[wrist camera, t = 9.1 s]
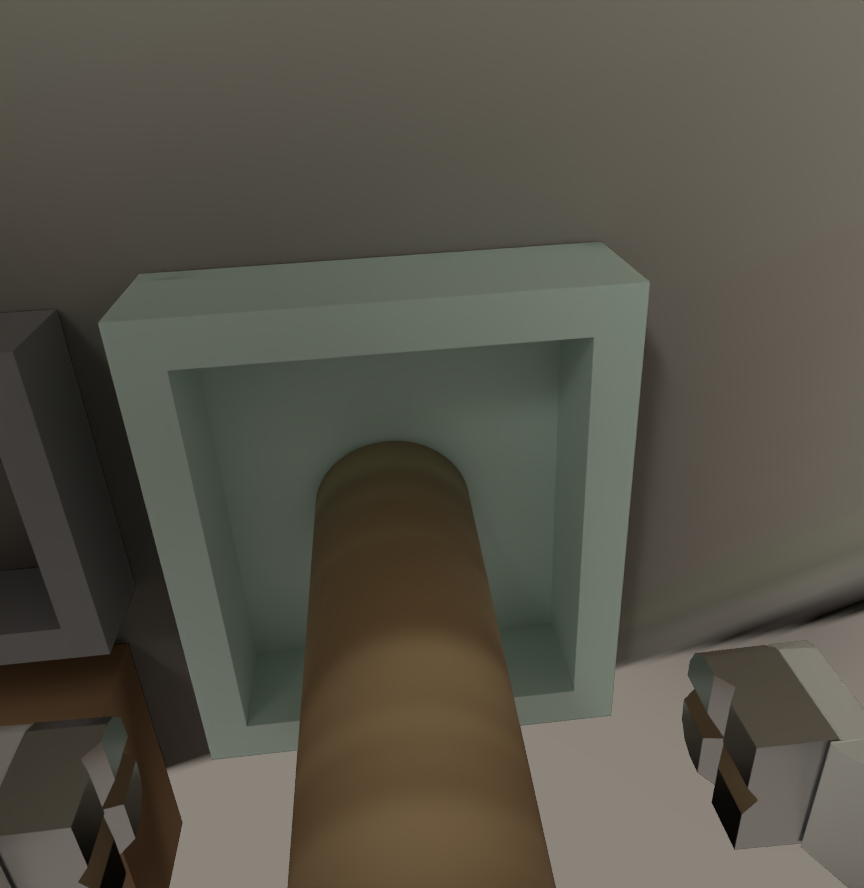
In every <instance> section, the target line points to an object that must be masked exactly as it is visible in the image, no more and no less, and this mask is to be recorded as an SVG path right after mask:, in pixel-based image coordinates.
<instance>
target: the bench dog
mask: <svg viewBox="0 0 864 888" xmlns="http://www.w3.org/2000/svg"><path fill="white" fill-rule="evenodd" d="M109 716H115V717H119V718H121V720H122V722H123V725H124V728H125V730H126V733H127V735H128V737H127V741H126V744H125V747H124V751H123V752H124V753H125V754H127V755H128V756H130V757H131V758H133V759H134V760H136V763H137V766H138V769H139V772H140V777H141V785H142V803H141V817H140V821H139V825H138V829H137V834H136V838H135V839H134V840H133V841H132V842H131V844H130V845H129V846H128V847H127V848H126V849H125V850H124V851H123V852H122V853H121V854H120V856H121V859H122V862H123V865H124V867H125V870H126V876H125V880H124V884H123V888H169V885H170V880H171V876H172V870H173V866H174V861H175V856H176V851H177V846H178V842H179V837H180V832H181V827H182V820H181V816H180V813H179V810H178V807H177V804H176V800H175V797H174V793H173V790H172V787H171V783H170V780H169V777H168V774H167V770H166V767H165V764H164V761H163V757H162V754H161V751H160V747H159V744H158V741H157V738H156V734H155V731H154V728H153V724H152V721H151V718H150V715H149V711H148V708H147V705H146V701H145V698H144V695H143V692H142V688H141V685H140V682H139V678H138V675H137V672H136V669H135V665H134V662H133V659H132V656H131V652H130V649H129V646H128V643H126V644H116V645H113V648H112V650H111V653H110V654H106V655H96V656H87V657H77V658H67V659H57V660H47V661H37V662H27V663H17V664H8V665H0V726H9V725H21V724H34V723H36V722H48V721H61V720H73V719H85V718H97V717H109Z"/></svg>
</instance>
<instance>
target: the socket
mask: <svg viewBox="0 0 864 888" xmlns="http://www.w3.org/2000/svg"><path fill="white" fill-rule="evenodd" d="M0 458H1V461H2V464H3V467H4V469H5V472H6V475H7V478H8V481H9V484H10V486H11V489H12V492H13V495H14V498H15V500H16V503H17V506H18V509H19V512H20V515H21V517H22V520H23V523H24V526H25V529H26V532H27V534H28V537H29V540H30V543H31V546H32V548H33V551H34V554H35V557H36V560H37V563H38V565H39V567H37V568H27V569H16V570H5V571H0V665H8V664H17V663H27V662H37V661H47V660H57V659H67V658H77V657H87V656H96V655H106V654H110V653H111V650H112V648H113V645H114V642H115V640H116V637H117V634H118V632H119V629H120V626H121V624H122V621H123V618H124V616H125V613H126V610H127V608H128V605H129V602H130V600H131V597H132V595H133V592H134V589H135V587H136V586H135V582H134V579H133V575H132V572H131V568H130V565H129V561H128V558H127V554H126V551H125V547H124V544H123V540H122V537H121V533H120V530H119V526H118V523H117V519H116V516H115V512H114V509H113V505H112V502H111V498H110V495H109V491H108V488H107V484H106V481H105V477H104V474H103V470H102V467H101V463H100V460H99V456H98V453H97V449H96V446H95V442H94V439H93V435H92V432H91V428H90V425H89V421H88V418H87V414H86V411H85V407H84V404H83V400H82V397H81V393H80V390H79V386H78V383H77V379H76V376H75V372H74V369H73V365H72V362H71V358H70V355H69V351H68V348H67V344H66V341H65V337H64V333H63V330H62V326H61V323H60V319H59V316H58V312H57V309H49V310H35V311H22V312H8V313H0Z"/></svg>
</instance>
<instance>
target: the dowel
mask: <svg viewBox="0 0 864 888" xmlns="http://www.w3.org/2000/svg"><path fill="white" fill-rule="evenodd" d="M288 888H556V886H555V882H554V878H553V873H552V869H551V864H550V859H549V855H548V850H547V846H546V842H545V837H544V833H543V828H542V823H541V819H540V814H539V809H538V805H537V801H536V796H535V791H534V787H533V782H532V778H531V773H530V769H529V764H528V760H527V755H526V751H525V746H524V741H523V737H522V732H521V728H520V723H519V719H518V714H517V710H516V705H515V701H514V696H513V692H512V687H511V683H510V678H509V674H508V669H507V664H506V660H505V655H504V651H503V646H502V642H501V637H500V633H499V628H498V624H497V619H496V615H495V610H494V606H493V601H492V597H491V592H490V587H489V583H488V578H487V574H486V569H485V565H484V560H483V556H482V551H481V547H480V542H479V538H478V533H477V529H476V524H475V520H474V515H473V510H472V506H471V501H470V497H469V492H468V489H467V485H466V482H465V480H464V478H463V476H462V474H461V473H460V471H459V470H458V468H457V467H456V466H455V465H454V464H453V463H452V462H451V461H450V460H449V459H448V458H446V457H445V456H444V455H442V454H441V453H439V452H438V451H436V450H433V449H431V448H429V447H427V446H424V445H421V444H417V443H412V442H406V441H385V442H377V443H373V444H369V445H366V446H363V447H361V448H358V449H356V450H354V451H352V452H350V453H348V454H347V455H345V456H344V457H342V458H341V459H340V460H338V461H337V462H336V463H335V464H334V465H333V466H332V467H331V468H330V469H329V471H328V472H327V473H326V475H325V476H324V478H323V480H322V481H321V484H320V486H319V488H318V492H317V496H316V505H315V519H314V532H313V546H312V560H311V574H310V587H309V601H308V615H307V628H306V642H305V656H304V670H303V683H302V697H301V711H300V725H299V738H298V752H297V766H296V779H295V794H294V807H293V821H292V835H291V848H290V862H289V875H288Z"/></svg>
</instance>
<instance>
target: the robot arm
mask: <svg viewBox="0 0 864 888" xmlns="http://www.w3.org/2000/svg"><path fill="white" fill-rule="evenodd" d="M688 677H689V678H690V680H691V682H692V684H693V686H694V688H695V689H694V690H693V691H692V692H691V693H690V694H689V695H688V697H686V698H685V699H684V705H683V715H682V722H683V730H684V738H685V742H686V745H687V748H688V751H689V755H690V757H691V759H692V762H693V764H694V766H695V768H696V770H697V772H698V773H699V774H700V775H702V776H703V777H705V778H706V779H707V780H709V781H710V782H711V783H713V784H714V785H715V788H714V792H713V798H712V804H713V806H714V808H715V810H716V812H717V814H718V817H719V819H720V821H721V823H722V825H723V827H724V829H725V831H726V833H727V835H728V837H729V839H730V841H731V843H732V845H733V847H734V849H747V848H757V847H768V846H778V845H789V844H799V843H802V845H801V847H802V848H803V849H804V850H805V851H806V852H807V853H808V854H810V855H811V856H812V857H813V858H814V859H816V860H817V861H818V862H819V863H820V864H821V865H823V866H824V867H825V868H826V869H827V870H828V871H829V872H831V873H832V874H833V875H834V876H835V877H836V878H838V879H839V880H840V881H841V882H842V883H843V884H845V885H846V886H847V887H848V888H864V709H863V707H862V706H861V705H860V704H859V702H858V701H857V700H856V698H855V697H854V696H853V695H852V693H851V692H850V691H849V689H848V688H847V687H846V686H845V684H844V683H843V682H842V680H841V679H840V678H839V677H838V675H837V674H836V673H835V671H834V670H833V669H832V667H831V666H830V665H829V664H828V662H827V661H826V660H825V658H824V657H823V656H822V655H821V653H820V652H819V651H818V649H817V648H816V647H815V646H814V645H813V644H811V643H809V642H808V641H806V640H804V641H796V642H787V643H778V644H770V645H768V646H765V645H761V646H752V647H744V648H736V649H727V650H718V651H710V652H701V653H695V654H694V656H693V657H692V659H691V661H690V665H689V671H688ZM127 737H128V735H127V733H126V730H125V728H124V725H123V722H122V720H121V718H119V717H115V716H109V717H97V718H85V719H73V720H61V721H48V722H36V723H34V724H21V725H9V726H0V888H123V884H124V880H125V876H126V870H125V867H124V865H123V862H122V859H121V856H120V854H121V853H122V852H123V851H124V850H125V849H126V848H127V847H128V846H129V845H130V844H131V842H132V841H133V840H134V839H135V838H136V834H137V829H138V825H139V821H140V817H141V803H142V785H141V777H140V772H139V769H138V766H137V763H136V760H134V759H133V758H131V757H130V756H128V755H127V754H125V753H124V752H123V751H124V747H125V744H126V741H127Z"/></svg>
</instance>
